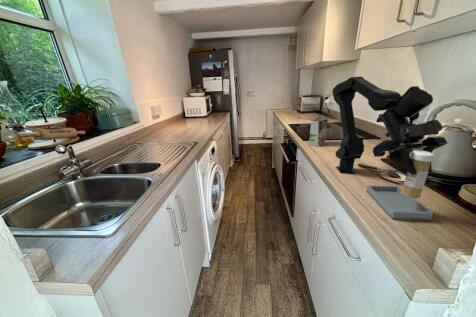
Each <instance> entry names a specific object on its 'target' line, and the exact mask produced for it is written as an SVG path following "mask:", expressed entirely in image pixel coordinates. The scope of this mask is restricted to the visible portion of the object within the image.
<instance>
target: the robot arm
mask: <svg viewBox="0 0 476 317" xmlns="http://www.w3.org/2000/svg"><path fill="white" fill-rule="evenodd" d="M331 92H332V97H333V101H334V102H335V103H336V104H337V105H338V108H339V114H340V115H339V116H340V123H341V129H342V130H341V131H342V135H343V137H342V140H341V141H340V144H339V148H338V149H337V150H335V157H336V158H338V159H339V165H337V166H335V168H336V169H337V170H338V171H339V173H340V174H357V171H356V170H355V169H354V165H355V160H356V159H357V160H359V159H361V158H362V155H363V153H364V151H365V144H364V138H363V137H359V136H358V135H357V134H358V133H357V129H356V128H357V127H356V121H355V115H354V108H353V101H354V99H355V96H356V93H358V94H360V95H361V96H363V97H364V98H366V99H367V100H368V102H367V104H368V106H369V107H370V108H371V109H372V110H373V111H375V112H377V111H378V112H380V111H381V112H382V111H383V113H379V115H378V117H377V119H376V123H383V125H384V127H385V130H386V131H387V133H385V137H386V138H390V139H387V140H385V139H384V140H383V141H381V142H380V143H378V144H376V145H374V147H373V148H372V153H373V157H375V158H377V157H384V156H385V155H386V152H388V155H386V159H389V160H391V161H393V162H394V163H395V164H397V165H398V166H400V167H401V168H403V169H404V170H406V172H407V171H408V172H409V173H410V174H412V175H415V174H417V173H416V170H415V167H414V165H413V162H412V160H411V153H410V152H411V150H412V152H413V151H415V150H421V151H427V152H431V153H433V151H435V150H437V149H439V148H441V147H443V146H445V145H447V144H448V141H447V140H446V138H445V137H444V136H440V135H439V133H440V131H442V130H443V124H442V123H441V122H440V121H439V120H438V119H431V120H429V121H426V122H423V123H417V124H416V123H411V122H410V121H409V119H408V118H413V117H414V116H416V115H418V114H419V113H420V112H422V111H423V110H425V109H427V107H428V106H430V105H431V104H432V103H433V101H434V97H433V96H432V94H430V93H429V92H427V91H426V90H424V89H421V88H420V87H419V85H418V86H417V85H416V86H415V85H413V86H410V87H408V89H407V90H406V91H405V92H404V93H403V94H402V95H401V94H400V92H398V91H394V90H389V89H382V88H380V87H378V86H377V85H375V84H373V83H372V82H370V81H368V80H367V79H365V77H363V76H351V77H349V78H347V79H346V80H344V81H342V82H339V83H338V84H336V85H335V86H334V87H333V88H332V91H331ZM431 135H438V136H431ZM426 136H429V137H427V138H426ZM432 172H433V171H432V163H431V164H430V167H429V171H428V174H431V173H432Z"/></svg>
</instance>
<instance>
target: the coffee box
mask: <svg viewBox="0 0 476 317" xmlns="http://www.w3.org/2000/svg"><path fill="white" fill-rule="evenodd" d="M327 127H328V119H325V118H316V119H311V120H310V130H309V141H308V145H310V146H313V147H320V146H322V145H324V144H325V143H326V136H327V129H328V128H327Z"/></svg>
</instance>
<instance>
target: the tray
mask: <svg viewBox="0 0 476 317" xmlns="http://www.w3.org/2000/svg"><path fill="white" fill-rule="evenodd" d="M402 189H403V188H401V187H400V186H398V185H366V190H365V192H366V193H367V194H368V196H370V197H371V199H372V200H374V202H375V203H376V204H377V205H378V206H379V208H380V209H381V210H383V211H384V212H385V213H386V215H387V216H388V217H389V218H390V219H391V220H403V221H406V220H407V221H421V222H422V221H426V222H431V220H432V218H433V216H434V213H433V212H432V211H430V210H429V209H428V208H426V206H424V205H423V204H421V203H420V202H419V201H417V200H416V198H410V197H407V196H404V195H403V194H402V193H401V191H402Z"/></svg>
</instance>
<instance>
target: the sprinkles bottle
mask: <svg viewBox="0 0 476 317" xmlns="http://www.w3.org/2000/svg"><path fill="white" fill-rule="evenodd" d="M434 157H435V154H434V153H433V152H432V153H431V152H427V151H421V150H415V151H413V150H412V151H411V153H410V158H411V160H412V162H413V165H414V167H415V170H416V173H417V174H415V175H412V174H410V173H409V172H408V171H407V170H406V173H405V174H406V175H405V178H404V181H403V186H402V188H401V189H402V191H401V193H402V194H403V195H404V196H407V197H410V198H414V199H420V198H421V195H422V191H423V189H424V186H425V184H426V180H427V177H428V174H429V173H428V171H429V167H430V164H431V165H432V162H433V160H434Z"/></svg>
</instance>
